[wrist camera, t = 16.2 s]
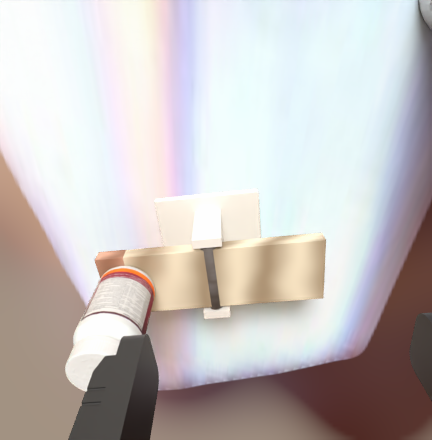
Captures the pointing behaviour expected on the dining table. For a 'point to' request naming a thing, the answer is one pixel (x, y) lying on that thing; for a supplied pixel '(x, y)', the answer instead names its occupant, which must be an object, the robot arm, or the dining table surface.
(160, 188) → the dining table surface
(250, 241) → the board
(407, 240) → the dining table surface
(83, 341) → the pill bottle
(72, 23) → the dining table surface
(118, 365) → the robot arm
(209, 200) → the pivot stand
